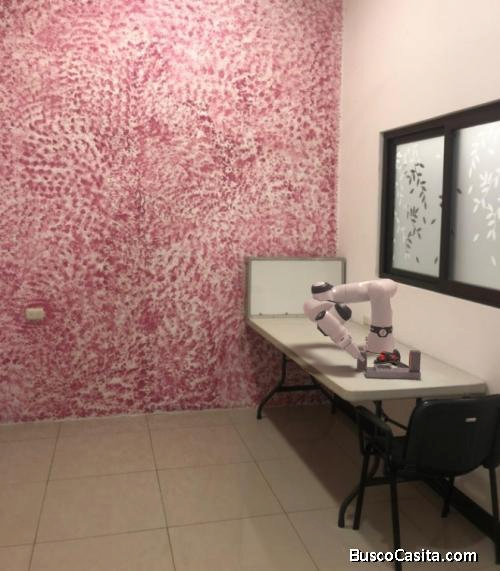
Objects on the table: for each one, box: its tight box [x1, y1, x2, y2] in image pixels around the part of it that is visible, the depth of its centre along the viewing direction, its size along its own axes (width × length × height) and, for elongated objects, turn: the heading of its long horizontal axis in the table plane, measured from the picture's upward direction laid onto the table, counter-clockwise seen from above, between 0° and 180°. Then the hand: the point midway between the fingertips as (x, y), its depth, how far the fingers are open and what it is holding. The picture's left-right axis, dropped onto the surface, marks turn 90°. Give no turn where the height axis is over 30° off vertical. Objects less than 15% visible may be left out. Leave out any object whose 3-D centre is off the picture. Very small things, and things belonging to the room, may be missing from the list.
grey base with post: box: [364, 349, 422, 380], centre depth 276 cm, size 8×24×12 cm, turn 86°
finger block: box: [356, 349, 368, 372], centre depth 287 cm, size 4×4×9 cm
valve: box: [373, 348, 409, 368], centre depth 298 cm, size 6×26×15 cm
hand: (363, 359), depth 287 cm, fingers open, 5 cm apart
